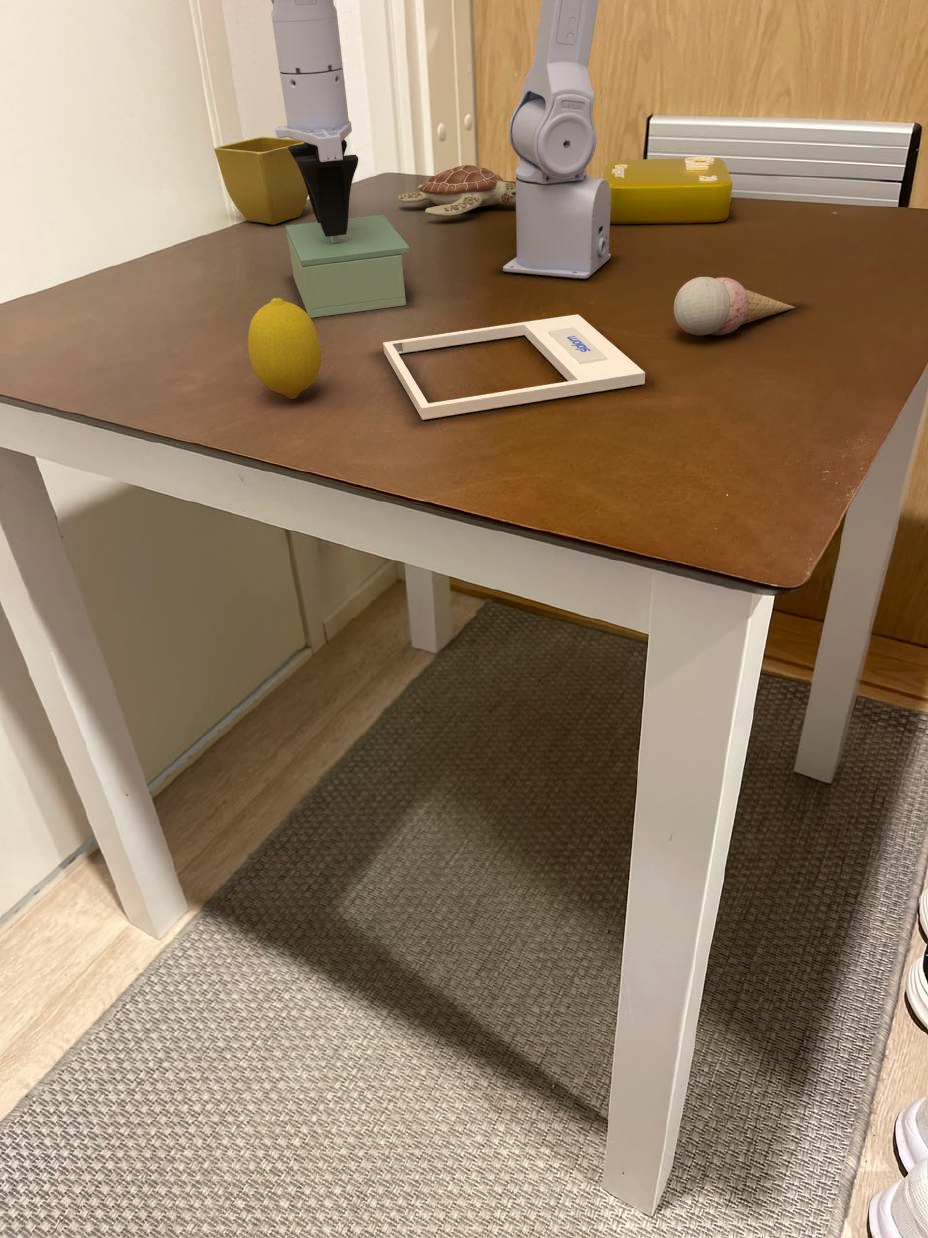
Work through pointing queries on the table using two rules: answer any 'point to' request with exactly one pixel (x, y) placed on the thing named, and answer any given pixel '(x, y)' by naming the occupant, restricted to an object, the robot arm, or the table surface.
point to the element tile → (669, 190)
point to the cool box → (349, 284)
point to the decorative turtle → (463, 191)
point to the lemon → (284, 348)
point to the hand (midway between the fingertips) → (331, 227)
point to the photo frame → (558, 339)
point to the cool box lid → (346, 241)
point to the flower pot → (263, 179)
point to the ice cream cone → (720, 306)
